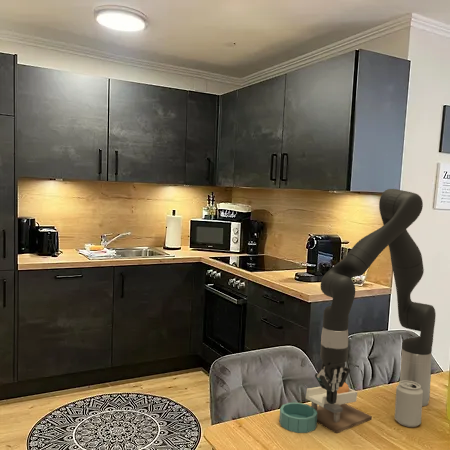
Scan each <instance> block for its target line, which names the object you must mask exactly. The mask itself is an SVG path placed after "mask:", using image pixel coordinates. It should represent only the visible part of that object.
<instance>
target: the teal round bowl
mask: <svg viewBox="0 0 450 450" xmlns="http://www.w3.org/2000/svg"><path fill="white" fill-rule="evenodd" d="M278 421H279V425H280V427H282V428H283V429H285V430H287V431H288V432H294V433H297V434H302V433H303V434H308V433H311V432H314V431H315V430H316V428H317V425H318V423H317V411H316V410H315V408H313V407H311V405H309V404H306V403H301V402H287V403H284V404H282V405H281V407H280V408H279V420H278Z"/></svg>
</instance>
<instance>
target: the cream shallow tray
mask: <svg viewBox="0 0 450 450" xmlns="http://www.w3.org/2000/svg"><path fill="white" fill-rule="evenodd" d="M326 396H327V390H326V389H323V388H322V387H321V386H317V387H316V386H315V387H309V388H308V387H307V388H306V393H305V400H308V401H309V402H311V403H312V402H314V403H315V404H317V406H321V407H323V408H325V409H327V410H329V411H331V412H333V413H337V412H342V410H343V408H342V407H340V406H338V405H336V404H350V403H355V402H357V399H358V391H356V390H355V389H352V388H350V387H349V392H346V393H340V394H338V393H337V399H336V403H334V404H330V403H328V402H327V400H326Z"/></svg>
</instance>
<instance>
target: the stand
mask: <svg viewBox="0 0 450 450" xmlns="http://www.w3.org/2000/svg"><path fill="white" fill-rule="evenodd" d="M336 405H338V406H340V407H342V408H343V410H342V412H337V413H333V412H331V411H329V410H327V409H325V408H323V407H321V406H319V405H317V404H315V403H314V402H312V401H311V405H310V406H311V407H313V408H315V410H316V411H317V424H319V425H321V426H323V427H325V429H328V430H330V431H332V432H333V433H335V434H339V433H341V432H343V431H347V430H348V429H351V428H353V427H356V426H359V425H361V424H364V423H366V422H369V421H371V420H372V419H373V417H372V415H370V414H369V413H366V412H364V411H361V410H359V409H357V408H356V407H353V406H351V405H349V404H348V403H345V404H336Z"/></svg>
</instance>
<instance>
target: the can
mask: <svg viewBox="0 0 450 450" xmlns="http://www.w3.org/2000/svg"><path fill="white" fill-rule="evenodd" d="M422 399H423V390H422V389H421V386H420V384H418V383H416V382H413V381H407V380H404V381H400V380H399V382H398V384H397V385H396V387H395V403H394V404H395V405H394V420H396V422H397V423H398V424H400V425H401V426H404V427H408V428H416V427H418V426H419V425H421V424H422V415H423V414H422V413H423V406H422Z"/></svg>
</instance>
